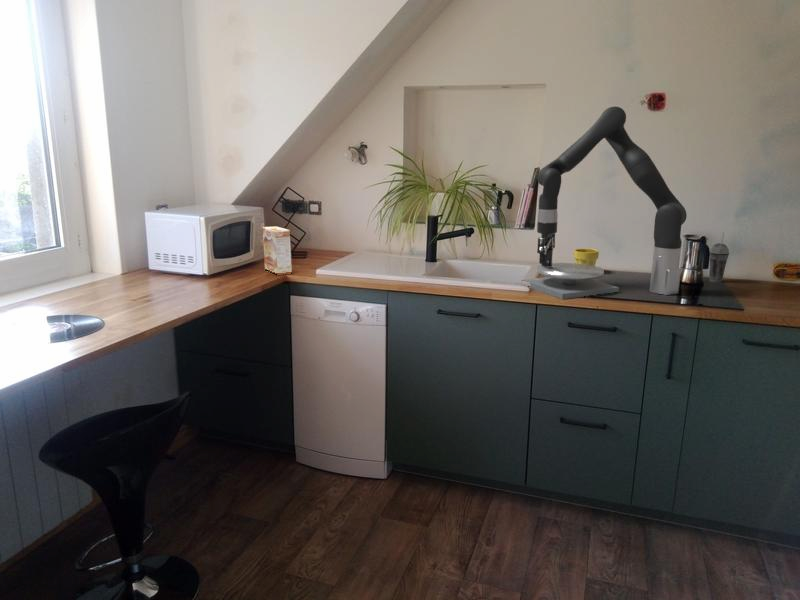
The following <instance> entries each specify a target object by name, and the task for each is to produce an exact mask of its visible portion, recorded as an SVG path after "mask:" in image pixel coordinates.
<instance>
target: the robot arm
mask: <svg viewBox="0 0 800 600" xmlns="http://www.w3.org/2000/svg"><path fill="white" fill-rule="evenodd" d="M626 121H627V115H626V112H625V110H624V109H623V108H621V106H610V107H608V108H606V109H604V110H603V112H602V113H601V114H600V116H599V117H598V119H597V120H596V121H595V123H593V125H591V127H590V128H589V129H588V130H587V131H586V132H585V133H584V134H582V136H581V137H579V138H578V139H577V140H576V141H575V142H574V143H572V144H571V145H570V146H569V147H567V149H565V151H563V152H562V153H561V154H560V155H558V157H557V158H555V159H554V160H553V161H551V162H549V163H547V164H546V165H545V166H544V167H543V168H541V169H540V171H539V172H538V174H537V179H536V180H537V182H538V183H539V185H540V186H543V188H542V193H541V194H540V195H539V199H538V211H537V224H536V231H537V233H538V234H541V236H540V237H538V238H537V251H536V252H537V254H539V259H538V262H539V265H542V264H545V260H546V251H547V249H548V250H553V251H554V249H555V247H556V234H557V232H558V217H559V216H558V215H559V214H558V199H559V198H558V197H559V194H560V191H561V186H562V185H561V184H562V175H563V174H565V173H568V172H571V171H572V170H573V169H574V168H576V167H577V166H578V165H579V164H580V163H581V162H582V161H584V159H585V158H586V157H587V156H588V155H589V154H590V153H591V151H592V150H594V148H595V147H596V146H597V145H599V144H600V142H601V141H602V140H603V139H605V140H606V141H607V143H608V144H609V146H610V147H611V148H612V149H613V150H614V152H615V153H616V155H617V157H618V159H619V160H620V162H621V164H622V165H623V167H624V168H625V170H626V173H627V174H628V175H629V177H630V178H631V180H632V182H633V183H634V184H635V185H636V186H637V187H638V188H639V189H640V190H641V191H642V192H643V193H644V194H646V196H647V197H648V198H649V199H650V200H651V202H652V203H653V205H654V206H655V208H656V213H655V217H654V226H653V227H654V229H653V239H654V240H653V241H654V244H653V245H654V246H653V253H652V263H651V266H652V267H651V274H650V282H649V283H650V284H649V286H650V287H649V292H650V293H653V294H660V295H666V296H668V295H677V294H679V291H680V289H679V288H680V282H681V281H680V280H681V272H682V268H680V260H681V253H682V252H681V251H682V244H683V243H682V239H681V232H682V226H683V224H684V223H685V222H686V220H687V210H686V208H685V207H684V205H683V204H682V203H681V202H680V201H679V200H678V199H677V197H676V196H675V195H674V194H673V192H672V191H671V190H670V188H669V187H668V184H667V183H666V181H665V179H664V177H663V176H662V175H661V173H660V171H659V169H658V168H657V166H656V165H655V162H654V161H653V160H652V158H651V156H649V154H648V153H647V152H646V151H645V150H644V149H643V148H642V147H640V146H638V144H636V143H635V142H634V141H633V139H631V137H630V136H629V134H628V132H627V130H626V128H625V123H626Z"/></svg>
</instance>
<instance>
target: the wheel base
mask: <svg viewBox="0 0 800 600" xmlns="http://www.w3.org/2000/svg"><path fill="white" fill-rule="evenodd" d="M520 281H526V282H529V283H530V284H531V288H530V289H532V290H536V291H538V292H541V293H543V294H546V295H549V296H552V297H554V298H557V299H561V300H567V299H575V298H583V297H584V296H585V297H590V296H589V295H594V296H597V295H596V294H602V295H604V294H603V293H611V294H614V293H613V292H618V293H619V290H620V287H618V286H615V285H612V284H608V283H605V282H602V281H599V280H598V281H597V280H594V279H581V280H576V279H560V278H552V277H547V276H544V277H537V278H527V279H521V280H520Z"/></svg>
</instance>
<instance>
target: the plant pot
mask: <svg viewBox="0 0 800 600" xmlns="http://www.w3.org/2000/svg"><path fill="white" fill-rule="evenodd" d="M599 252H600V251H599V250H597V249H595V248H576V249H574V250H573V258H574V261H575V263H576V264H585V265H591V266H596V263H597V260H598V259H599V255H600V253H599Z"/></svg>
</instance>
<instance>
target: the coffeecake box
mask: <svg viewBox="0 0 800 600" xmlns="http://www.w3.org/2000/svg"><path fill="white" fill-rule="evenodd" d="M262 242H263V256H264V257H263V260H264V270H265V269H267V270H270V271H272V272H275V273H286V272H292V271H293V270H292V269H293V268H292V252H291V251H292V249H291V248H292V247H291V230H290V229H287V228H284V227H280V226H277V225H276V226H275V225H274V226H263V227H262ZM292 273H293V272H292Z"/></svg>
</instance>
